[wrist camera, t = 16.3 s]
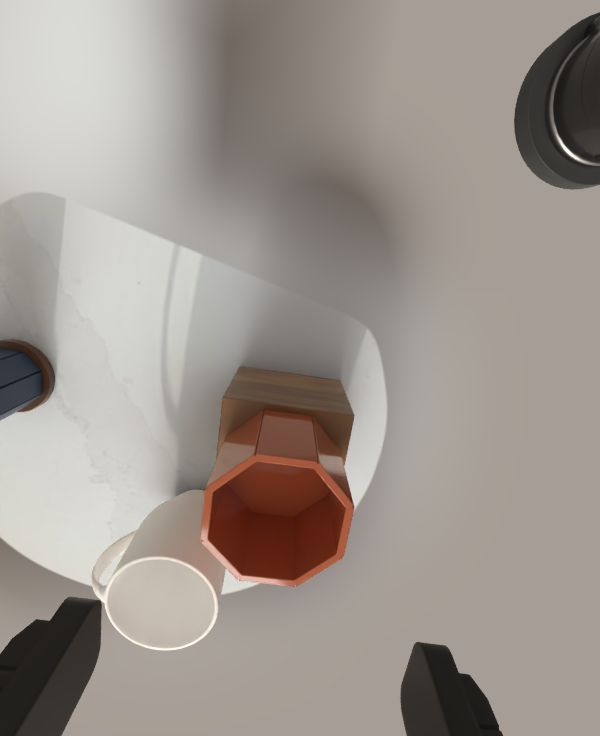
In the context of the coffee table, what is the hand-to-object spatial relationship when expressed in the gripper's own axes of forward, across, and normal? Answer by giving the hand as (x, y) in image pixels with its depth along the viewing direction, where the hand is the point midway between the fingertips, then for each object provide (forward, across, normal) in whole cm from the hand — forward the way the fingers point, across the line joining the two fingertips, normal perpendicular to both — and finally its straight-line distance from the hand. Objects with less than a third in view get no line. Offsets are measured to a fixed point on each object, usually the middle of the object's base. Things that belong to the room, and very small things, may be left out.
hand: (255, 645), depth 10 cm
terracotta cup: (+19, 0, +6) cm, 20 cm away
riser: (+28, 0, +6) cm, 29 cm away
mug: (+28, +8, +18) cm, 35 cm away
